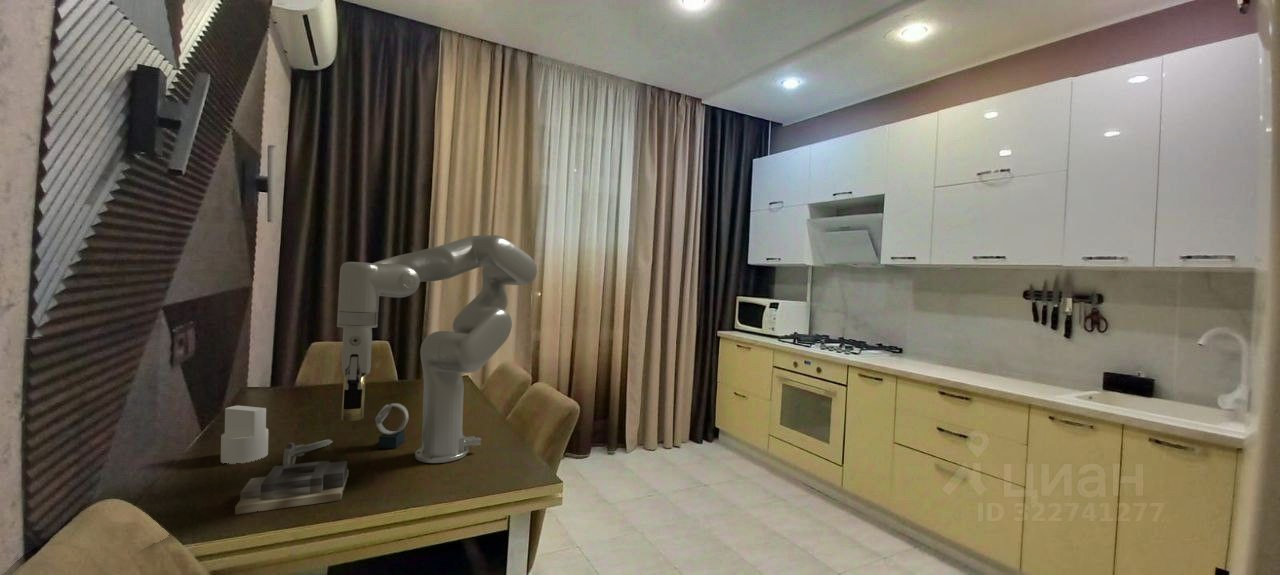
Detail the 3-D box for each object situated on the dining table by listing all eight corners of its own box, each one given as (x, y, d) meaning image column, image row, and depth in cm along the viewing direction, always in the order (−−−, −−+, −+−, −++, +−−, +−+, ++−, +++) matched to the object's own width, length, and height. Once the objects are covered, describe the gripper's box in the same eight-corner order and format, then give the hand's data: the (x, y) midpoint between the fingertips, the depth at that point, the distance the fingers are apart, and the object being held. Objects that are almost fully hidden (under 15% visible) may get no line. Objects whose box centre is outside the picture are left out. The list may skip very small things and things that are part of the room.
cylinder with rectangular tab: (277, 452, 123) (278, 405, 123) (242, 465, 114) (243, 414, 114) (247, 449, 125) (248, 402, 125) (210, 462, 116) (211, 411, 116)
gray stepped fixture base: (348, 475, 111) (348, 456, 111) (340, 500, 99) (341, 478, 99) (255, 487, 103) (255, 465, 103) (235, 514, 92) (235, 490, 92)
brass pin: (363, 415, 107) (366, 369, 107) (362, 420, 103) (365, 372, 103) (342, 416, 105) (345, 370, 105) (340, 421, 102) (343, 373, 102)
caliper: (287, 472, 112) (288, 445, 112) (282, 472, 112) (283, 445, 112) (333, 443, 132) (333, 419, 132) (328, 443, 132) (329, 419, 132)
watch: (380, 441, 134) (381, 401, 134) (410, 441, 134) (412, 401, 134) (370, 448, 128) (371, 406, 128) (402, 448, 129) (403, 407, 129)
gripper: (376, 323, 99) (371, 414, 98) (378, 317, 114) (374, 396, 113) (332, 322, 95) (327, 417, 95) (341, 317, 110) (336, 398, 110)
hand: (353, 405), depth 104 cm, fingers closed on brass pin, 4 cm apart
